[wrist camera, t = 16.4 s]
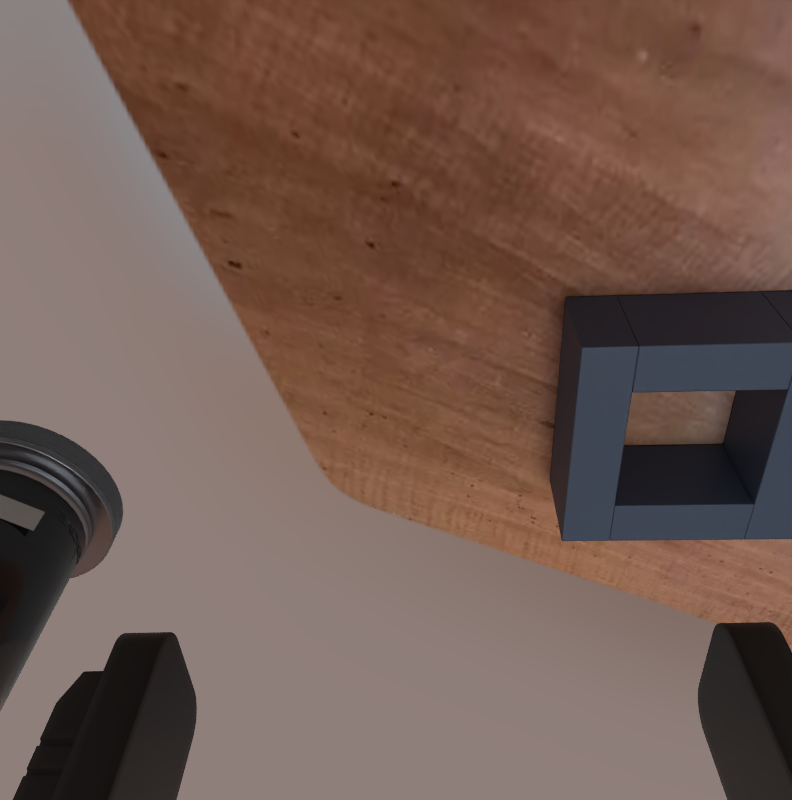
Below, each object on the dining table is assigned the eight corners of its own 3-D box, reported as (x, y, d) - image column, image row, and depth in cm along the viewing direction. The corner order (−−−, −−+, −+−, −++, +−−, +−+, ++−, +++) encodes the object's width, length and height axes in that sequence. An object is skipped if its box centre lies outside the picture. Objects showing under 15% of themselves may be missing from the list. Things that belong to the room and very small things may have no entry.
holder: (549, 480, 44) (561, 541, 40) (565, 296, 37) (581, 347, 33) (758, 477, 43) (793, 539, 39) (813, 289, 37) (861, 341, 33)
